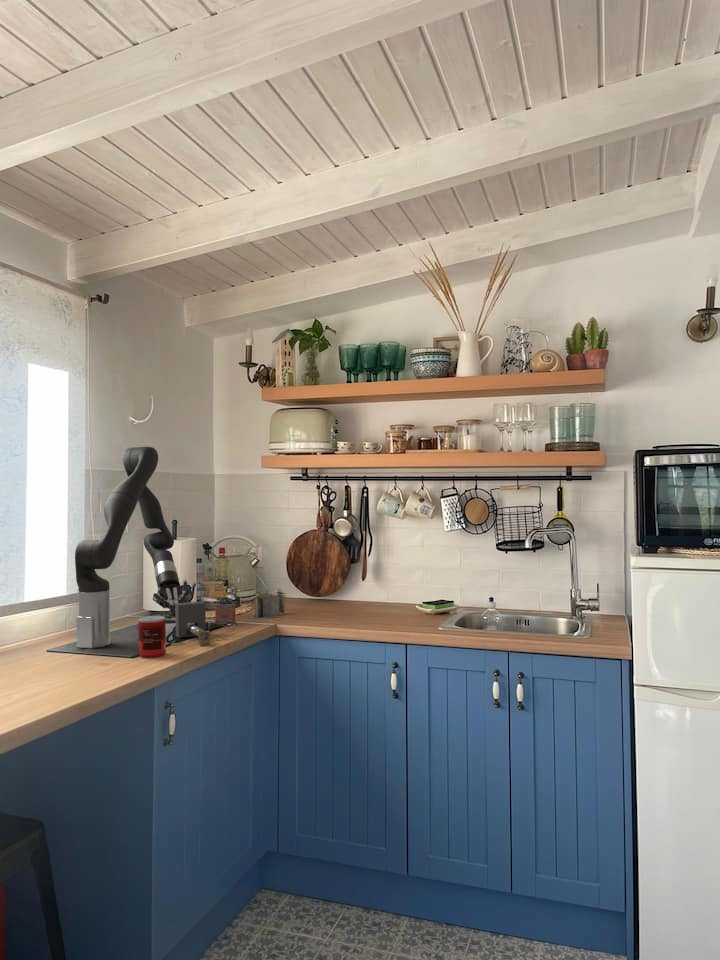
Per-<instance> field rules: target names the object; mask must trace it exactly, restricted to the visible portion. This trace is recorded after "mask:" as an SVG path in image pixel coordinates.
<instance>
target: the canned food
mask: <svg viewBox="0 0 720 960" xmlns="http://www.w3.org/2000/svg"><path fill="white" fill-rule="evenodd" d="M137 621H138V622H137V623H138V625H137V627H138V628H137V629H138V631H137V632H138V633H137V634H138V655H139V657H140V658H142V659H143V658H144V659H155V658H161V657H163V656H165V655H166V652H167V651H166V650H167V646H166V644H167V643H166V634H167V633H166V617H165V616H163V615H147V616H142V617H139V618H138V620H137Z"/></svg>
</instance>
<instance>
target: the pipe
mask: <svg viewBox="0 0 720 960" xmlns="http://www.w3.org/2000/svg"><path fill="white" fill-rule="evenodd" d="M187 632H192V633H193V634H195V635H197V636H196V637H198V646H199V645H200V646H199V647H206V646H205V645H208V646H210V645H211V631H209V630H206V631H204V630H202V629H200V628H198V627H197V626H195V625H194V623H187ZM225 638H226V637H219V638H214V641H215V640H218V641H220V640H219V639H225ZM181 645H185V642H183V641H182V642H176V643H175V642H174V643H173V642H172V643H170V646H172V647H173V646H181Z"/></svg>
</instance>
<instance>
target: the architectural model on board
mask: <svg viewBox="0 0 720 960" xmlns="http://www.w3.org/2000/svg"><path fill="white" fill-rule="evenodd" d="M285 597H286V596H285V595H283V594H278V595H267V596H264V592H260V593H257V594H255V597H254V617H255V618H259V617H272V616H284V615H285V613H286V611H285V609H286V607H285V606H286V604H285V603H286V602H285V601H286V600H285Z"/></svg>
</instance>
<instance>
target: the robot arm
mask: <svg viewBox="0 0 720 960" xmlns="http://www.w3.org/2000/svg"><path fill="white" fill-rule="evenodd" d="M122 463H123V464H122V465H123V467H124V471H125V473H126V476H127V477H126V478H125V479H124V480H123V481H121V482H120V483H119V484H118V485H116V487H114V488H113V489H112V490H111V492H110V493H109V496H108V497H107V500H106V502H105V504H104V507H103V514H104V519H105V522H106V526H107V527H106V531H105V533H104V535H103V537H102V538H101V539H84V540H80V541H79V542H78V543H77V545H76V548H75V552H74V564H75V579H76V584H77V587H78V616H76V647H77V648H81V649H82V648H84V649H96V648H101V647H102V648H103V647H107V646H109V645H111V615H110V614H111V613H110V612H111V611H110V607H111V605H110V582H109V580H107V579H105V578H103V577H101V576H100V575H98V573H97V572H96V570H106V569H108V568H109V567H111V566H112V564H113V563H114V560H115V559H116V555H117V553H118V550H119V546H120V543H121V541H122V537H123V535H124V533H125V531H126V528H127V525H128V523H129V520H130V519H131V518H132V515H133V513H134V511H135V509H136V506H137V504H139V508H140V511H141V516H142V520H143V525H144V527H145V528H147V529H149V530H151V529H153V530H154V529H155V530H156V529H157V530H159V531H157V532H153V533H152V532H151V533H148V534H146V535H145V537H144V538H143V545H144V548H145V550H146V551H147V553H148V554H149V556H150V557H151V559H152V560H151V561H152V563H153V568H154V578H155V581H156V586H157V593H153V595H152V601H154V602H155V603H156V604H157V605H159V606H161V608H163V609H169V613H170V616H171V617H172V618H173V619H174V618H175V619H176V617H175V604H177V603H186V601H187V599H188V598H189V595H190V591H189V590H184V589H183V587H182V586H181V583H180V579H179V576H178V575H179V573H178V570H177V567H176V565H175V562H174V557H173V553H172V552H171V551H170V549H172V548H173V546H174V544H175V543H174V542H175V539H174V536H173V535H172V533H171V530H170V529H169V528H168V526H167V524H166V521H165V518H164V515H163V511H162V507H161V503H160V501H159V499H158V497H156V495H155V493H153V492H152V491H151V489H150V488H149V487H148V485H147V484H148V483H149V480H150V479H151V477H152V475H153V474H154V473H155V471H156V469H157V466H158V463H159V454H158V451H157V449H156V448H154V447H152V446H138V447H129V448H127V449H125V450H124V452H123V454H122ZM180 596H181V598H180ZM179 598H180V599H179ZM106 645H107V646H106Z"/></svg>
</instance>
